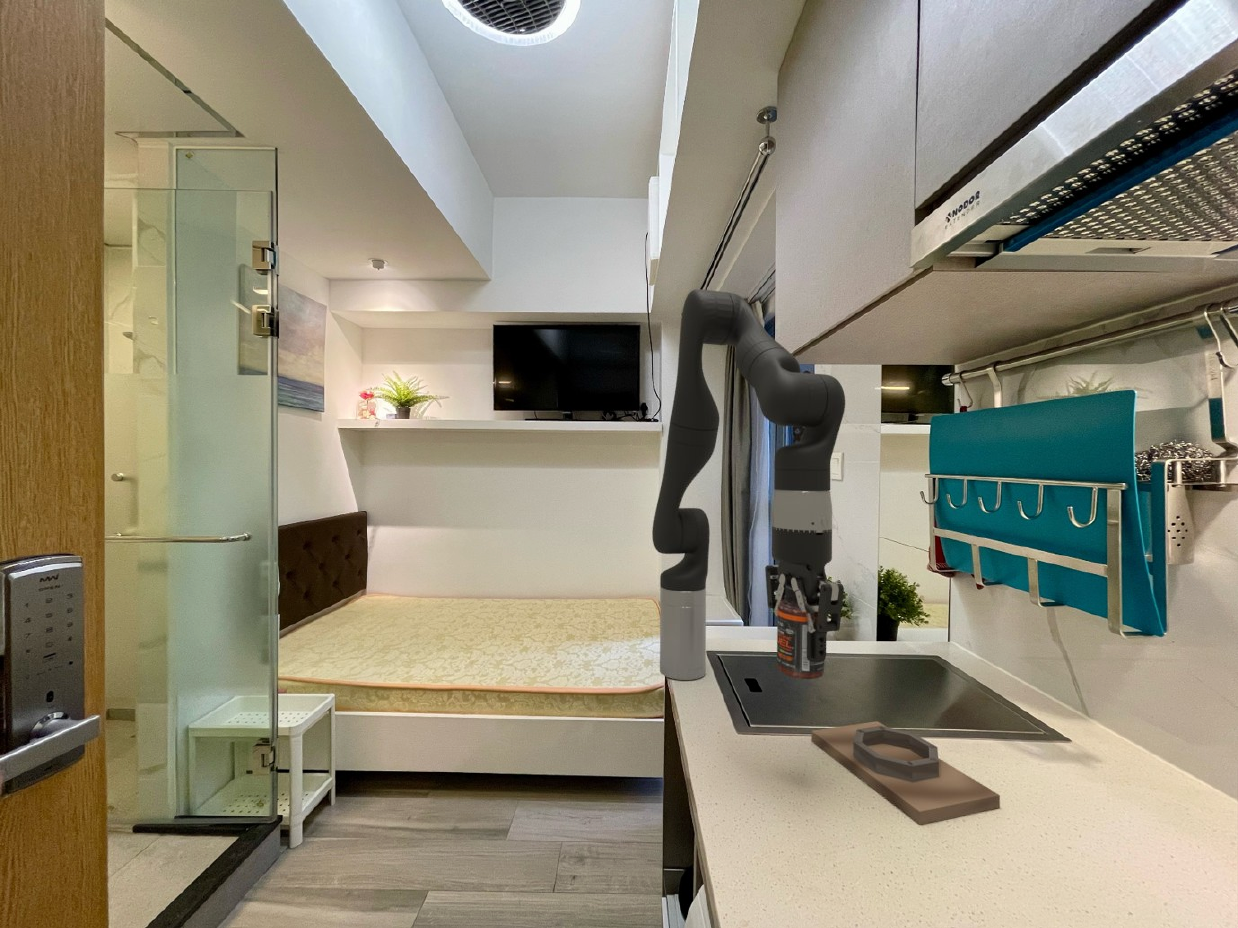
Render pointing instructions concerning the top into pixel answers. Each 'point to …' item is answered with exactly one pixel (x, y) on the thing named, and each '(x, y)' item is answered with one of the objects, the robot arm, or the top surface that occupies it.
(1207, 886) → the top surface
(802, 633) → the supplement bottle
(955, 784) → the socket board
